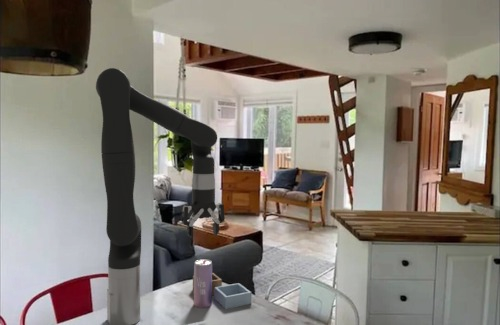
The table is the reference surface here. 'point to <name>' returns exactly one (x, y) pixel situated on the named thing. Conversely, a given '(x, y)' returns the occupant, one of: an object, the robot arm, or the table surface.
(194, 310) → the table surface
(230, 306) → the tray
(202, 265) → the beverage can
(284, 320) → the table surface
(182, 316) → the table surface
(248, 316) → the table surface
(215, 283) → the walnut box
